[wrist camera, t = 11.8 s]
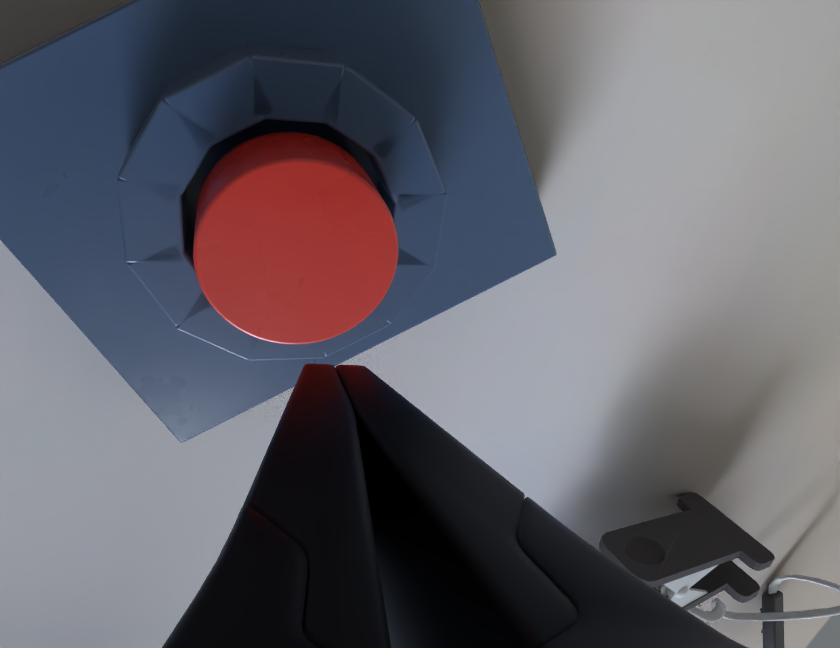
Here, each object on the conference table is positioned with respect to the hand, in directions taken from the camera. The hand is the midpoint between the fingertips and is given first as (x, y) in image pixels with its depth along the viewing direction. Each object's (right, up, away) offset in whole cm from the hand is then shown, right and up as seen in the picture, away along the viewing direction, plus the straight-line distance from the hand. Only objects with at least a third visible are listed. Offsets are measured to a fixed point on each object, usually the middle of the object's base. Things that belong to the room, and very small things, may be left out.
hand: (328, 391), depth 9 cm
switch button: (-2, +3, +5) cm, 7 cm away
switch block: (-2, +5, +8) cm, 10 cm away
